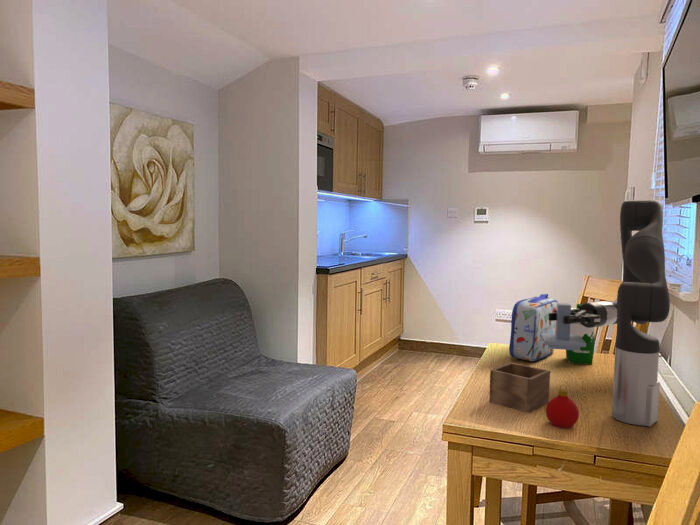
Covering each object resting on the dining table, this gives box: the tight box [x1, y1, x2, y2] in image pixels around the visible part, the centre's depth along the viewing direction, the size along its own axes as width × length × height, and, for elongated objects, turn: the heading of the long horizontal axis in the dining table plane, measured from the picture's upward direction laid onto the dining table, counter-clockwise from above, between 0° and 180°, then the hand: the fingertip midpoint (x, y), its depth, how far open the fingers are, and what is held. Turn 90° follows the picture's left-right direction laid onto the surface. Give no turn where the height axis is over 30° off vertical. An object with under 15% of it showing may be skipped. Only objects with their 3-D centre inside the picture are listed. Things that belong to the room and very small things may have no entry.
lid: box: [541, 302, 586, 351], centre depth 153 cm, size 11×11×12 cm
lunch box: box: [508, 293, 559, 362], centre depth 185 cm, size 28×10×22 cm, turn 143°
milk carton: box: [565, 303, 596, 365], centre depth 179 cm, size 9×9×20 cm
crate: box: [488, 362, 551, 414], centre depth 135 cm, size 11×11×9 cm
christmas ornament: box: [545, 384, 580, 429], centre depth 121 cm, size 7×7×10 cm
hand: (556, 318), depth 152 cm, fingers closed on lid, 4 cm apart
